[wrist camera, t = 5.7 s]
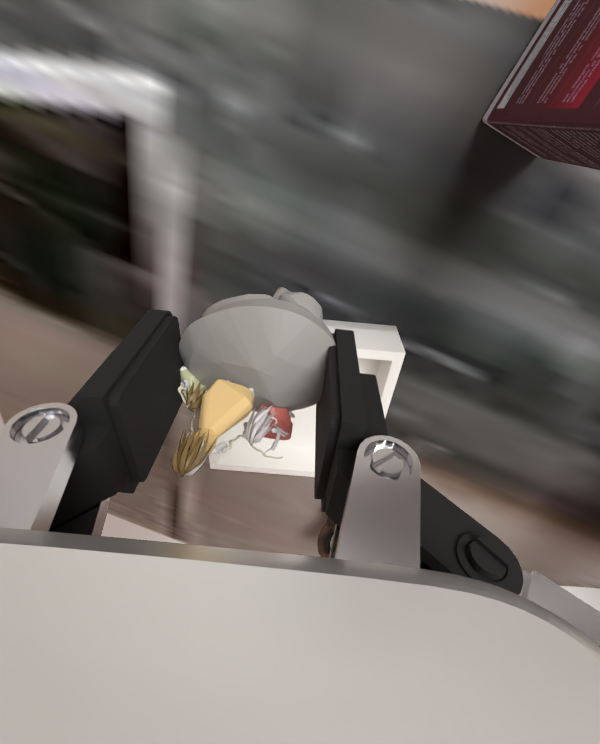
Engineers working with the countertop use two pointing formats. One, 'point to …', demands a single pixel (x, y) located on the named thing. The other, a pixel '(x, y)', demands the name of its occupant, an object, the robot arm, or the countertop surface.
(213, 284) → the countertop surface
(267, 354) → the figurine
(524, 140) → the supplement box
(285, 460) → the bin
